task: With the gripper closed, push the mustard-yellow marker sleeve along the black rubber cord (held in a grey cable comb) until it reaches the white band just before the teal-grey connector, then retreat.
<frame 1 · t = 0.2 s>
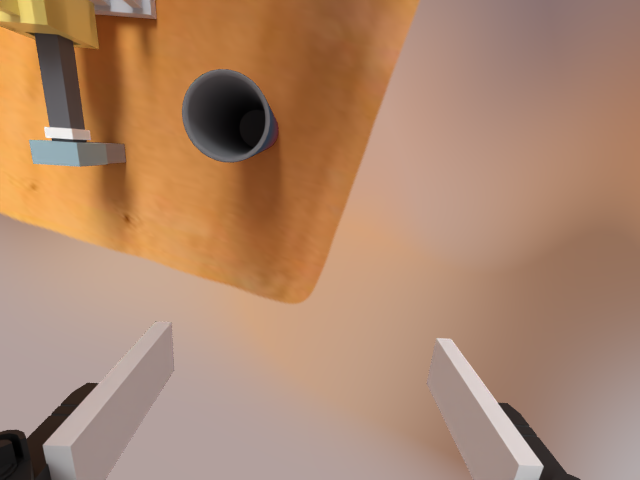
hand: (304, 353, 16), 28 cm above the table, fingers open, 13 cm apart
sleeve: (32, 4, 27), point 9 cm above the table, slide at 0.0 cm
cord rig: (103, 73, 37), on the table
cup: (258, 129, 39), on the table
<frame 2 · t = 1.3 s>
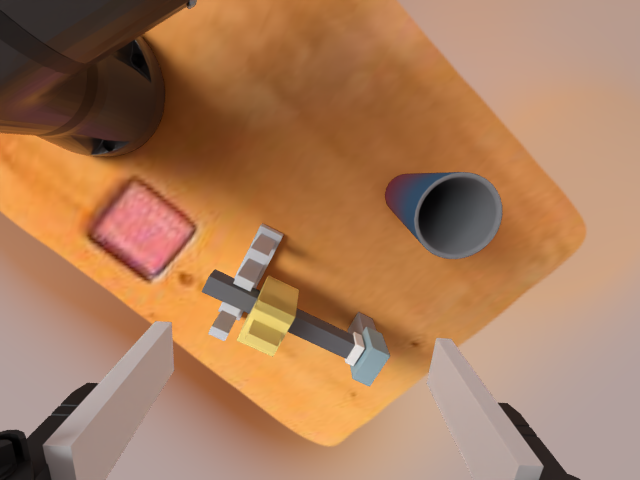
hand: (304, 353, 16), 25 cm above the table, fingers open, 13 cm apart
sleeve: (268, 318, 33), point 9 cm above the table, slide at 0.0 cm
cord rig: (302, 296, 42), on the table
cup: (404, 194, 39), on the table
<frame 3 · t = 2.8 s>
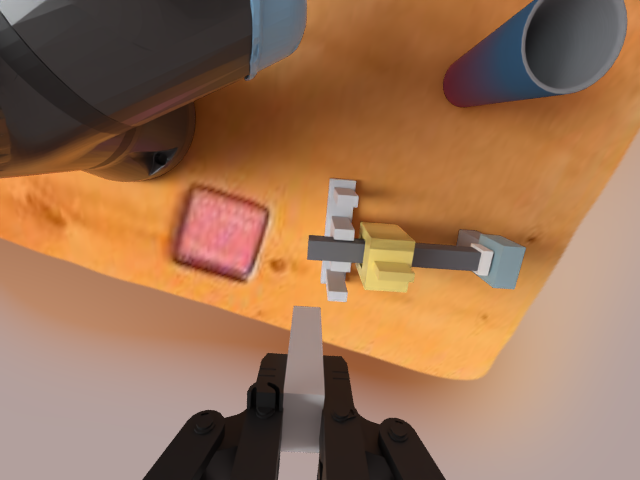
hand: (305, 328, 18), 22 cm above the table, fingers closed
sleeve: (384, 258, 31), point 9 cm above the table, slide at 0.0 cm
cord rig: (396, 236, 39), on the table
cup: (464, 83, 35), on the table
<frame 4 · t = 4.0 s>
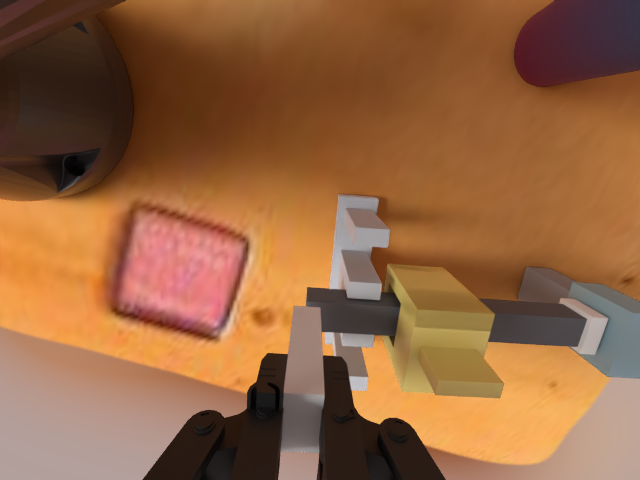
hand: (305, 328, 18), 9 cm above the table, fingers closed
sleeve: (432, 332, 18), point 9 cm above the table, slide at 0.0 cm
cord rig: (434, 276, 27), on the table
cup: (546, 49, 23), on the table
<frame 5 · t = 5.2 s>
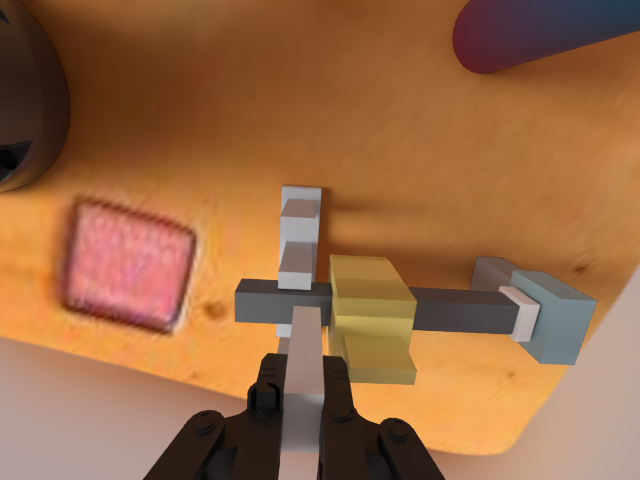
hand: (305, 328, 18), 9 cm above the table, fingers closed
sleeve: (365, 322, 18), point 9 cm above the table, slide at 0.3 cm, touching gripper
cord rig: (385, 267, 27), on the table
cup: (486, 35, 22), on the table
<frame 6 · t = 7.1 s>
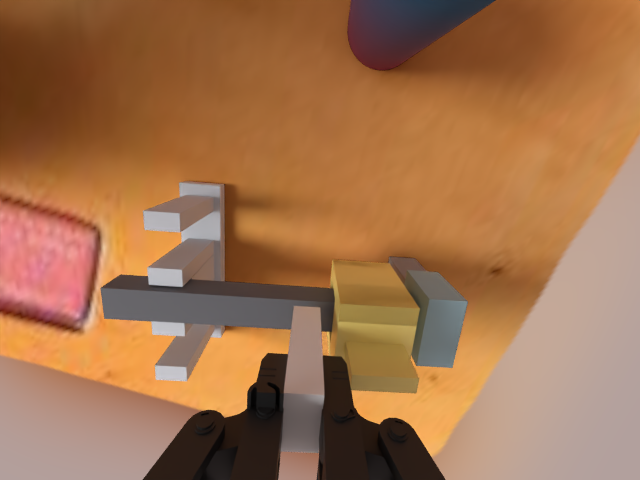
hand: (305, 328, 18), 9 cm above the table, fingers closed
sleeve: (367, 328, 18), point 9 cm above the table, slide at 8.1 cm, touching gripper
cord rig: (296, 266, 27), on the table
cup: (382, 31, 22), on the table
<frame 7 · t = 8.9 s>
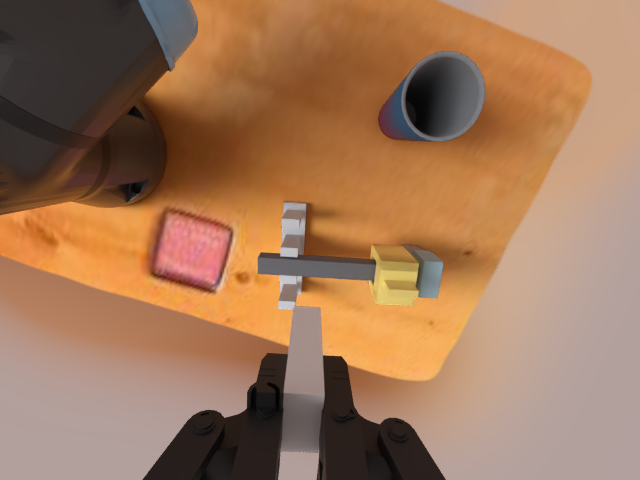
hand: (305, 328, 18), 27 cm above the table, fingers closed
sleeve: (393, 277, 36), point 9 cm above the table, slide at 8.1 cm
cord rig: (346, 251, 45), on the table
cup: (397, 118, 40), on the table
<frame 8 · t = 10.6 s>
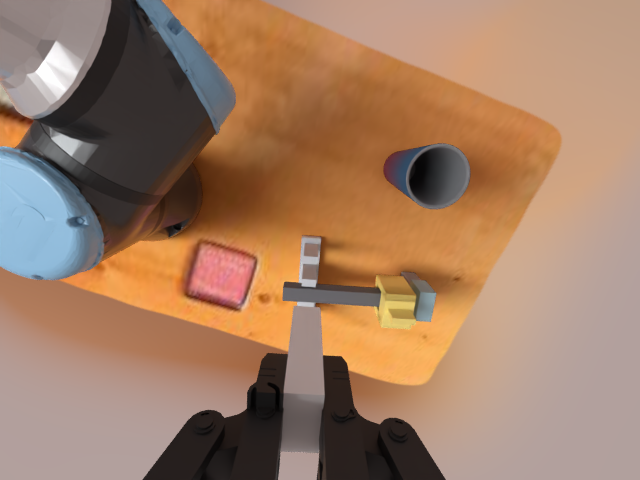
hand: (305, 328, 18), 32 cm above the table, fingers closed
sleeve: (394, 304, 44), point 9 cm above the table, slide at 8.1 cm
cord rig: (353, 276, 52), on the table
cup: (399, 168, 48), on the table
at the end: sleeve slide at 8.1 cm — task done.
